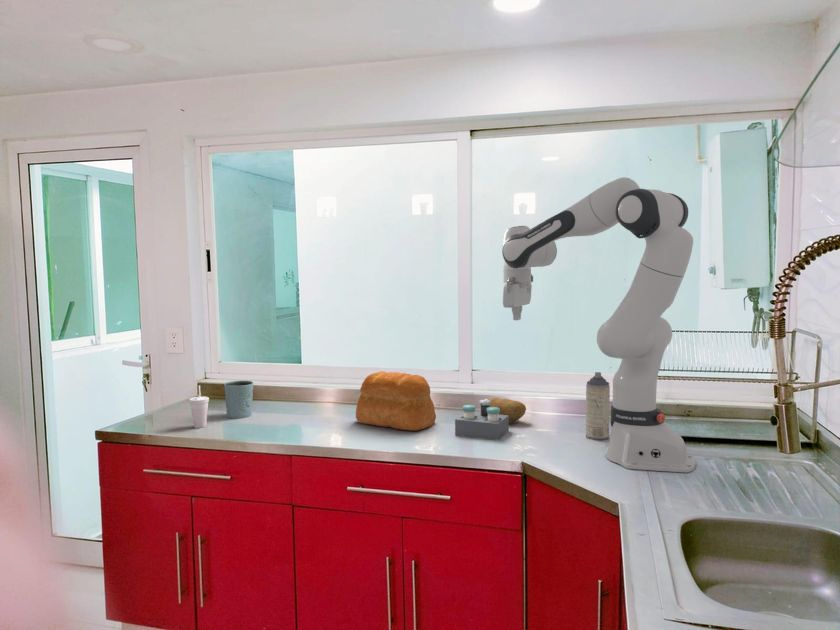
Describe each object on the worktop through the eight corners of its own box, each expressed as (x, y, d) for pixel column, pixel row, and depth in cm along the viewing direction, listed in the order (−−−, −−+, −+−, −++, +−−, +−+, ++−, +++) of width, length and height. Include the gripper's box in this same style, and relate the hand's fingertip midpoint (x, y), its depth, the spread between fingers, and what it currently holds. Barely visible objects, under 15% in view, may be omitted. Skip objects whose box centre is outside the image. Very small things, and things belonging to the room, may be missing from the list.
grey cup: (223, 414, 217) (222, 381, 216) (252, 411, 221) (251, 379, 220) (227, 420, 208) (226, 386, 207) (256, 417, 212) (255, 384, 211)
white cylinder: (477, 427, 189) (477, 405, 189) (472, 430, 186) (472, 408, 185) (465, 426, 191) (465, 404, 191) (461, 429, 188) (460, 407, 187)
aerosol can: (613, 439, 179) (614, 373, 177) (593, 441, 177) (593, 375, 176) (601, 433, 186) (601, 370, 184) (581, 435, 184) (582, 371, 182)
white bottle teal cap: (501, 430, 186) (501, 407, 185) (497, 433, 182) (497, 410, 182) (489, 428, 188) (489, 406, 187) (485, 432, 184) (484, 409, 184)
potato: (520, 428, 193) (520, 404, 192) (480, 423, 200) (480, 399, 199) (530, 421, 201) (530, 398, 201) (491, 416, 208) (491, 394, 208)
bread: (416, 434, 188) (415, 380, 187) (351, 423, 202) (349, 373, 200) (440, 422, 201) (440, 372, 200) (377, 413, 215) (377, 366, 214)
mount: (508, 430, 190) (508, 400, 189) (498, 440, 180) (498, 408, 179) (467, 426, 196) (467, 396, 195) (455, 435, 186) (454, 404, 185)
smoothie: (213, 424, 203) (211, 383, 202) (205, 429, 196) (203, 387, 195) (195, 424, 203) (193, 383, 202) (186, 429, 197) (184, 387, 196)
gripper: (517, 278, 181) (517, 323, 182) (534, 276, 199) (534, 317, 200) (497, 278, 183) (497, 322, 184) (516, 276, 202) (516, 317, 203)
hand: (517, 320), depth 192 cm, fingers closed
